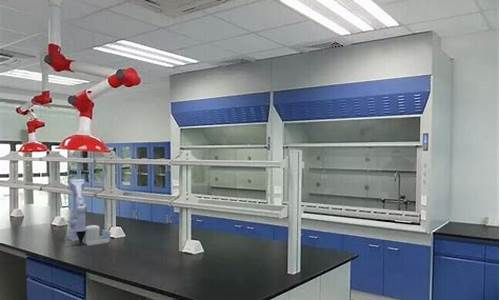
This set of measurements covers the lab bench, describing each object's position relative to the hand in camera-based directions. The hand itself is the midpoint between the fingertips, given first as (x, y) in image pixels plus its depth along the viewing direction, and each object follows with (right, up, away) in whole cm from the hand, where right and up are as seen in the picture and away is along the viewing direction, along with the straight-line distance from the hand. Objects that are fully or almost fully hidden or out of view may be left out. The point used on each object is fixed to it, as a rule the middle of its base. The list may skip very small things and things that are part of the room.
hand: (80, 242), depth 262 cm
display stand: (+7, -2, +7) cm, 10 cm away
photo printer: (+6, -2, +5) cm, 8 cm away
